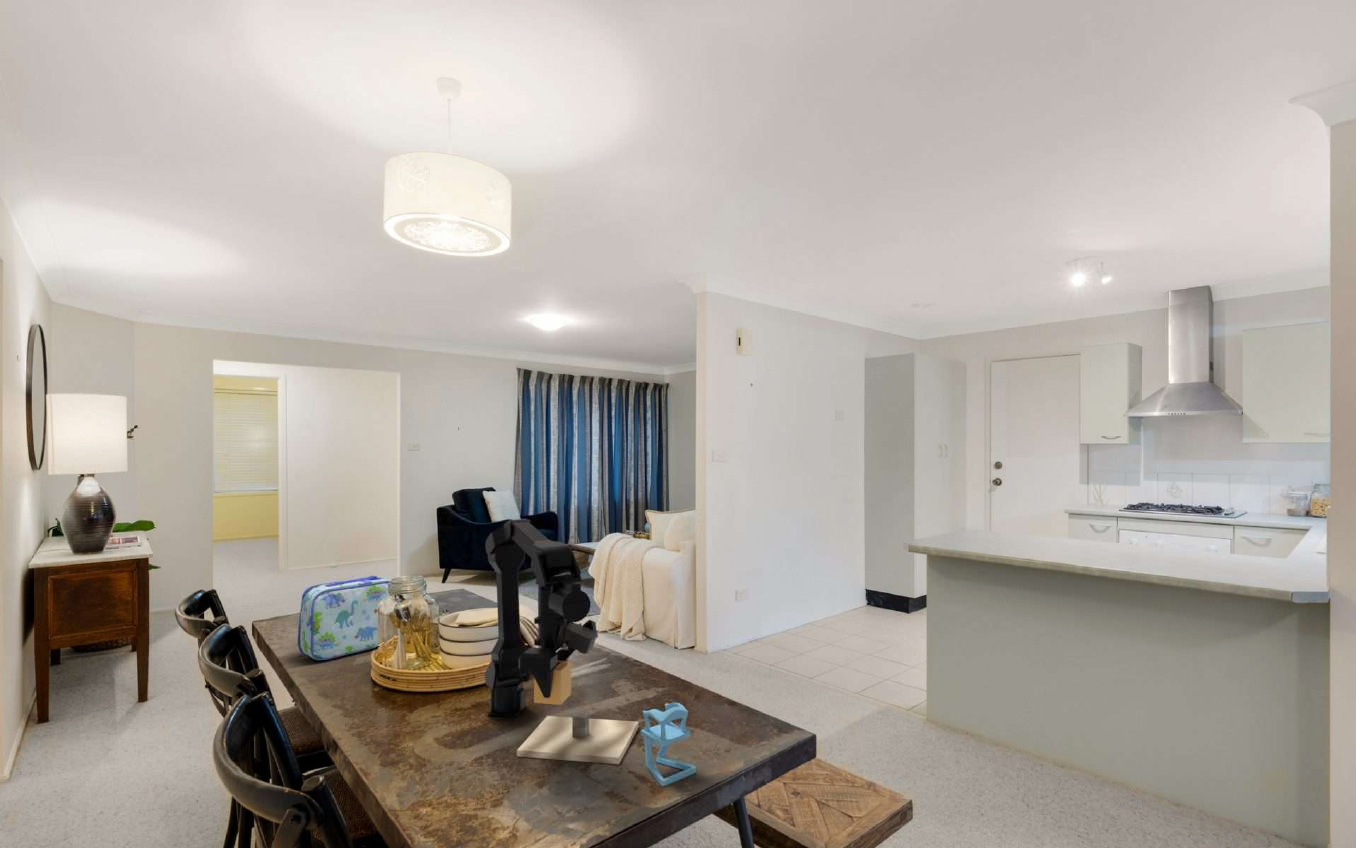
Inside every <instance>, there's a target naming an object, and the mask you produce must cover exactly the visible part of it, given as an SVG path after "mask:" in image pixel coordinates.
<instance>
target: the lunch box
mask: <svg viewBox="0 0 1356 848" xmlns="http://www.w3.org/2000/svg"><path fill="white" fill-rule="evenodd" d="M390 581H392V580H391V579H386V578H383V577H378V576H377V575H370V576H367V577H362V578H357V579H350V580H344V581H333V582H328V583H319V584H315V585H311V586H309V587H307V588H306V589H305V590H304V591H303V593H302V595H301V603H300V611H299V612H300V613H299V620H298V628H297V629H298V631H297V646H298V649H299V652H300V654H302V655H304V656H309V657H310V658H312V659H313V660H317V661H327V660H332V659H335V658H340V657H342V656H347V655H350V654H351V655H352V654H355V653H360V652H363V651H368V650H372V649H375V648H376V647H377V645H378V602H380V601H381V600H383V599H385V598H387V597H388V595H389V593H388V584H389V582H390ZM377 648H378V647H377Z"/></svg>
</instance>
